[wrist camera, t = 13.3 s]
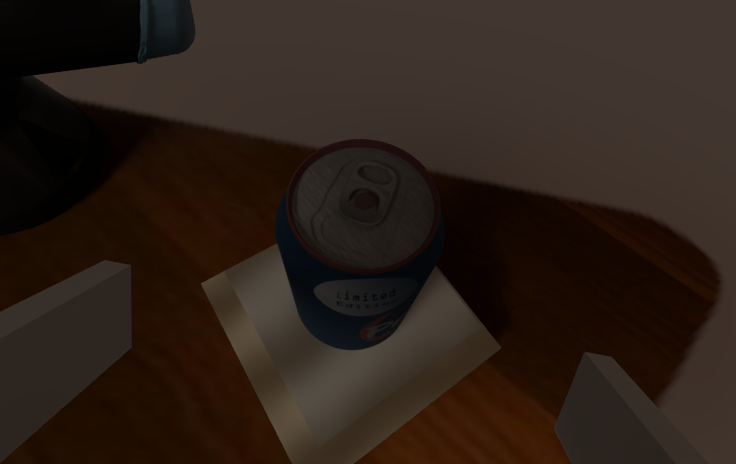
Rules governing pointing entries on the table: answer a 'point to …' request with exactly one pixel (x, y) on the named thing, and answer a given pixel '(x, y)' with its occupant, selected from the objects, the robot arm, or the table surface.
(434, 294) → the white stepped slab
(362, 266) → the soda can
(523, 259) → the table surface
